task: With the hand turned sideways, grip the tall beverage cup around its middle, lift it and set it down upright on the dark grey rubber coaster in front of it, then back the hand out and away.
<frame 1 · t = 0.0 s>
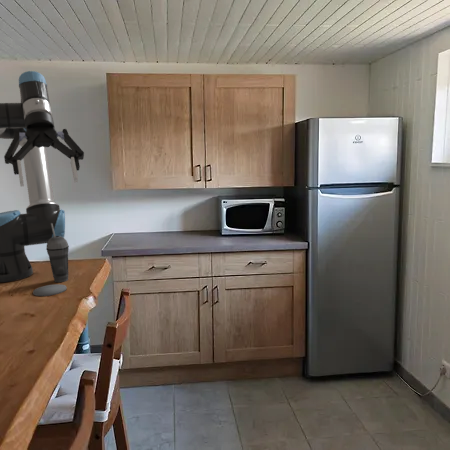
hand: (49, 181, 121), 36 cm above the table, tool tilted 35°, fingers open, 13 cm apart
beverage cup: (61, 281, 156), on the table
coaster: (50, 291, 145), on the table
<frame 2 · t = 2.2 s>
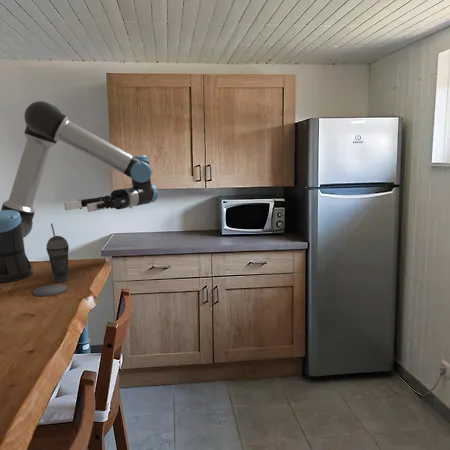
hand: (76, 207, 159), 24 cm above the table, tool horizontal, fingers open, 13 cm apart
nothing on the table moved.
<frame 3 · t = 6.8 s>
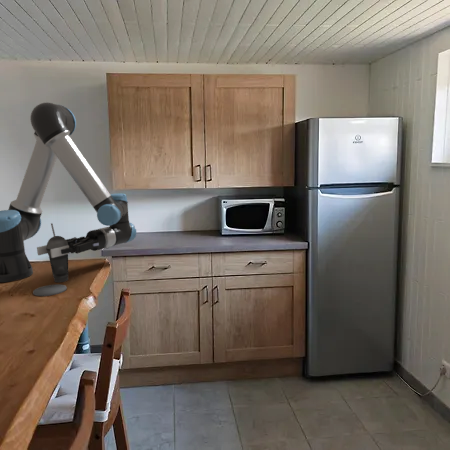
hand: (44, 252, 150), 11 cm above the table, tool horizontal, fingers closed on beverage cup, 7 cm apart
beverage cup: (61, 281, 156), on the table, touching gripper
when the fingers open (13 cm above the table, at t = 11.3 s): beverage cup drops 1 cm, resting on coaster.
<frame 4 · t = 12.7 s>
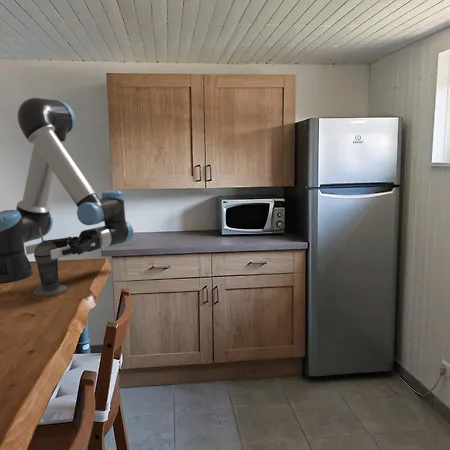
hand: (38, 252, 141), 13 cm above the table, tool horizontal, fingers open, 13 cm apart
beverage cup: (50, 289, 145), resting on coaster
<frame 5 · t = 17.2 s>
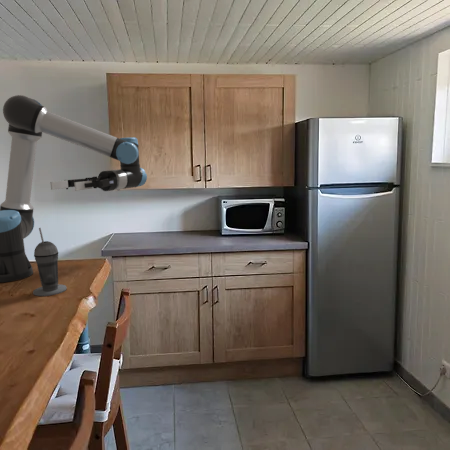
hand: (62, 186, 154), 32 cm above the table, tool horizontal, fingers open, 13 cm apart
nothing on the table moved.
at the end: beverage cup 0.3 cm off-centre on the coaster, point 0.4 cm above the coaster's base; beverage cup tilted 0°; the gripper is holding nothing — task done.
